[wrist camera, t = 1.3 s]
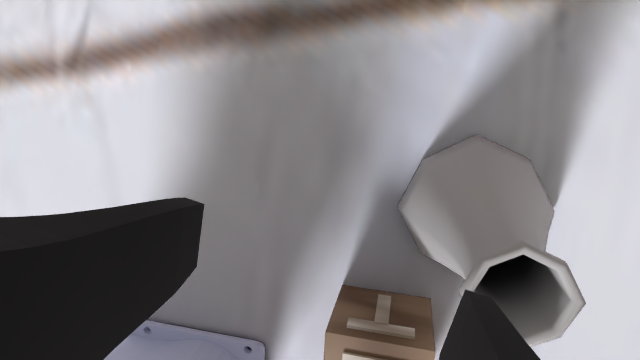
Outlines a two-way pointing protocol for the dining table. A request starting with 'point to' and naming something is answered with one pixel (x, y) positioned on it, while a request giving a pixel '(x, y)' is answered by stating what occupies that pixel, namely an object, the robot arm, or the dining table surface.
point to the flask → (493, 233)
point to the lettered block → (379, 326)
